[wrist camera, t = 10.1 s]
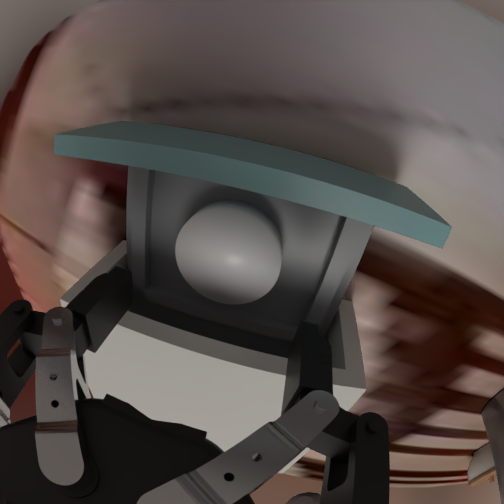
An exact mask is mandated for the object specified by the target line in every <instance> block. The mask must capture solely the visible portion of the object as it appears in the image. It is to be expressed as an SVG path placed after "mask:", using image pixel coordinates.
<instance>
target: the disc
mask: <svg viewBox="0 0 504 504" xmlns="http://www.w3.org/2000/svg"><path fill="white" fill-rule="evenodd" d="M282 254H283V245H282V239H281V236H280V233H279V230H278V229H277V227H276V225H275V224H274V222H273V221H272V220H271V218H270V217H269V216H268V215H267V214H266V213H264V212H263V211H262V210H260V209H259V208H257V207H256V206H254V205H251V204H249V203H246V202H243V201H239V200H229V199H227V200H219V201H214V202H212V203H209V204H207V205H205V206H203V207H202V208H201V209H199V210H198V211H197V212H196V213H195V214H194V215H193V216H192V217H191V218H190V219H189V220H188V221H187V222H186V224H185V225H184V226H183V227H182V229H181V230H180V232H179V234H178V237H177V240H176V246H175V255H176V261H177V265H178V267H179V270H180V272H181V274H182V276H183V277H184V279H185V280H186V281H187V282H188V284H189V285H190V286H191V287H192V288H193V289H194V290H196V291H197V292H198V293H200V294H201V295H203V296H205V297H206V298H208V299H211V300H213V301H216V302H219V303H224V304H236V305H238V304H245V303H250V302H252V301H255V300H257V299H259V298H261V297H263V296H264V295H265V294H267V293H268V292H269V291H270V290H271V289H272V287H273V286H274V285H275V283H276V281H277V279H278V276H279V273H280V269H281V262H282Z"/></svg>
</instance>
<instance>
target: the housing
mask: <svg viewBox="0 0 504 504" xmlns="http://www.w3.org/2000/svg"><path fill="white" fill-rule="evenodd" d="M115 266H119V267H122V268H125V269H127V246H126V241H125V240H123V241H122V242H121V243H120V244H118V245H117V246H116V247H115V248H114V249H113V250H111V251H110V252H109V253H108V254H107V255H106V256H105V257H104V258H102V259H101V260H100V261H99V262H98V263H97V264H96V265H95V266H94V267H93V268H91V269H90V270H89V271H88V272H87V273H86V274H85V275H84V276H83V277H82V278H81V279H80V280H79V281H78V282H77V283H75V284H74V285H73V286H72V287H71V288H70V289H69V290H68V291H67V292H66V293H65V294H64V295H63V296H62V297H61V298H60V301H61V305H62V307H66V306H67V305H68V304H69V303H70V302H71V301H72V300H73V299H74V298H75V297H76V296H77V295H78V294H79V293H80V292H81V291H82V290H84V288H85V287H86V286H87V285H89V283H90V282H91V281H92V280H93V279H94V278H95V277H97V276H99V275H101V274H103V273H107V274H108V273H109V272H110V271H111V270H112V269H113V268H114V267H115ZM324 337H326V338H327V339H328V341H329V343H330V345H331V348H332V357H331V358H332V372H333V396H334V397H335V398H336V399H337V401H338V403H339V406H340V407H341V408H343V409H344V410H346V411H348V410H349V409H350V408H351V407H352V406H353V405H354V403H355V402H356V401H357V400H358V399H359V398H360V397H361V395H362V394H363V393H364V392H365V391H366V389H367V388H366V380H365V373H364V366H363V359H362V353H361V346H360V340H359V334H358V329H357V323H356V318H355V312H354V307H353V302H352V301H349V300H345V299H342V301H341V303H340V306H339V308H338V310H337V312H336V314H335V316H334V318H333V320H332V322H331V324H330V326H329V328H328V330H327V332H326V334H325V336H324ZM84 356H85V365H86V373H87V381H88V385H89V388H90V390H91V392H92V394H93V397H94V398H99V399H104V397H105V396H106V394H109V395H111V396H114V397H116V398H118V399H120V400H122V401H124V402H127V403H129V404H130V405H132V406H133V407H135V408H136V409H137V410H139V411H140V412H141V413H143V414H144V415H146V416H147V417H149V418H150V419H152V420H158V421H165V422H172V423H181V424H184V425H187V426H190V427H193V428H196V429H200V430H203V431H206V432H207V436H206V438H207V439H209V440H210V441H212V442H213V443H215V444H216V445H217V446H219V447H220V448H221V449H222V450H223V451H224V452H225V451H227V450H228V449H230V448H232V447H233V446H235V445H236V444H238V443H239V442H241V441H242V440H243V439H245V438H246V437H248V436H249V435H251V434H252V433H253V432H255V431H256V430H258V429H259V428H260V427H262V426H263V425H265V424H266V423H268V422H270V421H272V422H274V421H275V420H277V419H278V418H279V417H281V410H282V403H283V395H284V387H285V379H286V370H287V361H288V358H284V357H279V356H275V355H271V354H266V353H262V352H258V351H254V350H250V349H247V348H243V347H239V346H235V345H232V344H228V343H224V342H221V341H217V340H214V339H210V338H207V337H204V336H200V335H197V334H194V333H191V332H187V331H184V330H181V329H178V328H175V327H172V326H169V325H166V324H163V323H160V322H157V321H154V320H151V319H148V318H146V317H143V316H140V315H137V314H135V313H132V312H130V308H129V309H128V311H127V312H126V313H125V315H124V316H123V317H122V318H121V320H120V321H119V322H118V324H117V325H116V326H115V328H114V329H113V330H112V331H111V333H110V334H109V335H108V337H107V338H106V339H105V341H104V342H103V343H102V345H101V346H100V348H99V349H98V350H97V352H96V353H93V352H91V351H89V350H86V352H85V353H84ZM309 450H310V449H309V448H307V447H306V448H305V449H304V450H303V451H302V452H301V453H300V454H299V455H298V456H297V457H295V458H294V459H293V460H292V461H291V462H290V463H289V464H287V465H286V466H285V467H284V468H283V469H282V470H280V471H279V472H278V473H284V472H285V471H286V470H287V469H288V468H289V467H291V466H292V465H293V464H294V463H295V462H296V461H298V460H299V459H300V458H301V457H302V456H303V455H304V454H305V453H306V452H308V451H309Z"/></svg>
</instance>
